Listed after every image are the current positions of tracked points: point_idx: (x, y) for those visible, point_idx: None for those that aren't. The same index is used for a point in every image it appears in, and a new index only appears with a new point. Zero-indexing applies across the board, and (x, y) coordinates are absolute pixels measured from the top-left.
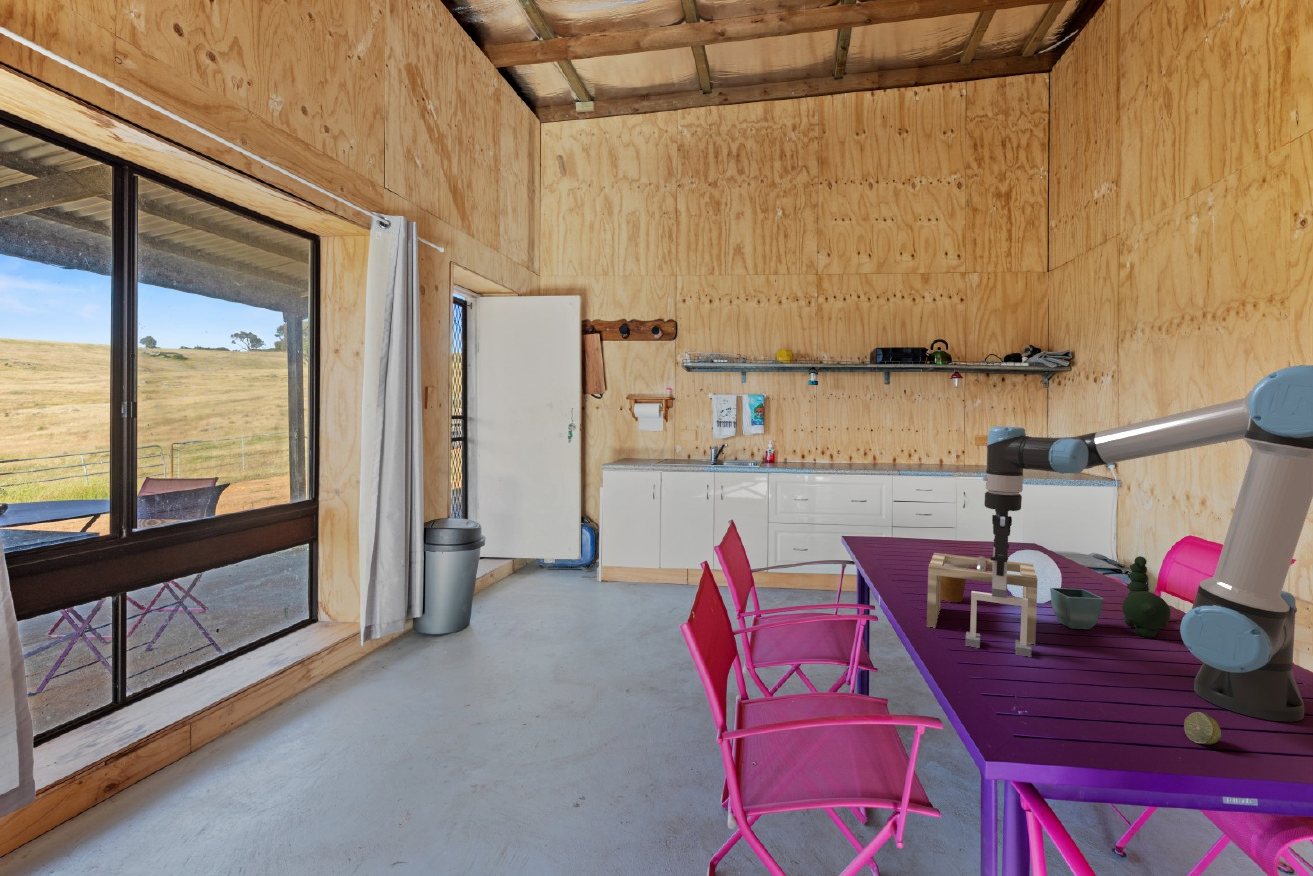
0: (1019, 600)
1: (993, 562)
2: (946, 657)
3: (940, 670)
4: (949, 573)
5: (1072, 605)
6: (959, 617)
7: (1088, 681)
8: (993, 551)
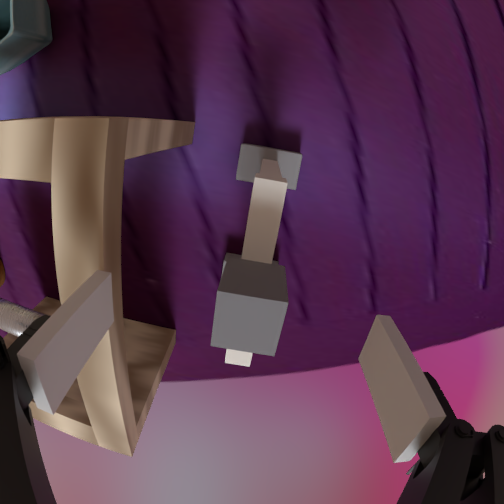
0: (281, 214)
1: (90, 354)
2: (350, 328)
3: (410, 339)
4: (128, 413)
5: (26, 26)
6: None
7: (400, 73)
8: (62, 399)
